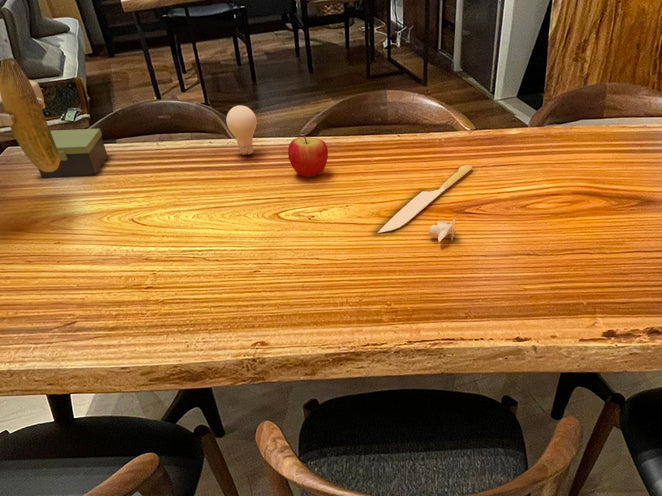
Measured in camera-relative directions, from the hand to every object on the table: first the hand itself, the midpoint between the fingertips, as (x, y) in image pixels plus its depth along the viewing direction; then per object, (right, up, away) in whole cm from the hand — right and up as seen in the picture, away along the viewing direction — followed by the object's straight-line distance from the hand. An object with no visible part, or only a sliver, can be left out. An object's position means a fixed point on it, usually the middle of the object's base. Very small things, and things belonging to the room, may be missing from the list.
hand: (27, 111), depth 110 cm
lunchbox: (-7, +1, +32) cm, 33 cm away
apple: (+47, -3, +25) cm, 54 cm away
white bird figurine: (+74, -22, +4) cm, 77 cm away
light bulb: (+32, +4, +34) cm, 47 cm away
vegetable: (-1, -8, +8) cm, 11 cm away
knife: (+72, -11, +15) cm, 75 cm away
